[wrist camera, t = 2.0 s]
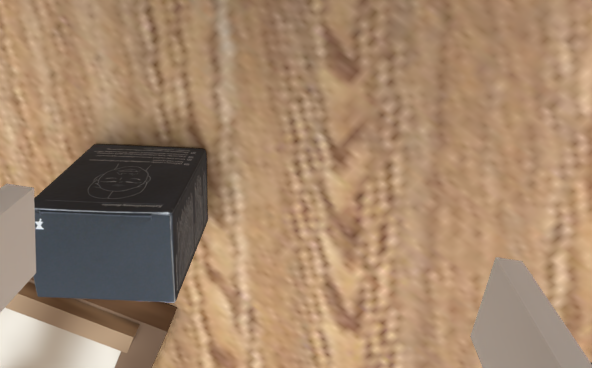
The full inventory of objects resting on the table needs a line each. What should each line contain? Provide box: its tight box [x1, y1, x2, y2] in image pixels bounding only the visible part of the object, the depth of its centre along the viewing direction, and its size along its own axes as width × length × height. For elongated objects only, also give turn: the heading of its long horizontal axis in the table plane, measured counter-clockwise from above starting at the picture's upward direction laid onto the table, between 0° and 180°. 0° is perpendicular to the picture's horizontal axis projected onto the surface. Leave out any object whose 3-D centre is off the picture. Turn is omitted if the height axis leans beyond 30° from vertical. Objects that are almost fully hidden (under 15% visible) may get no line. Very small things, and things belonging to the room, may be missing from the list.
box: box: [33, 144, 208, 303], centre depth 35 cm, size 8×6×11 cm
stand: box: [0, 277, 177, 368], centre depth 43 cm, size 16×14×4 cm
